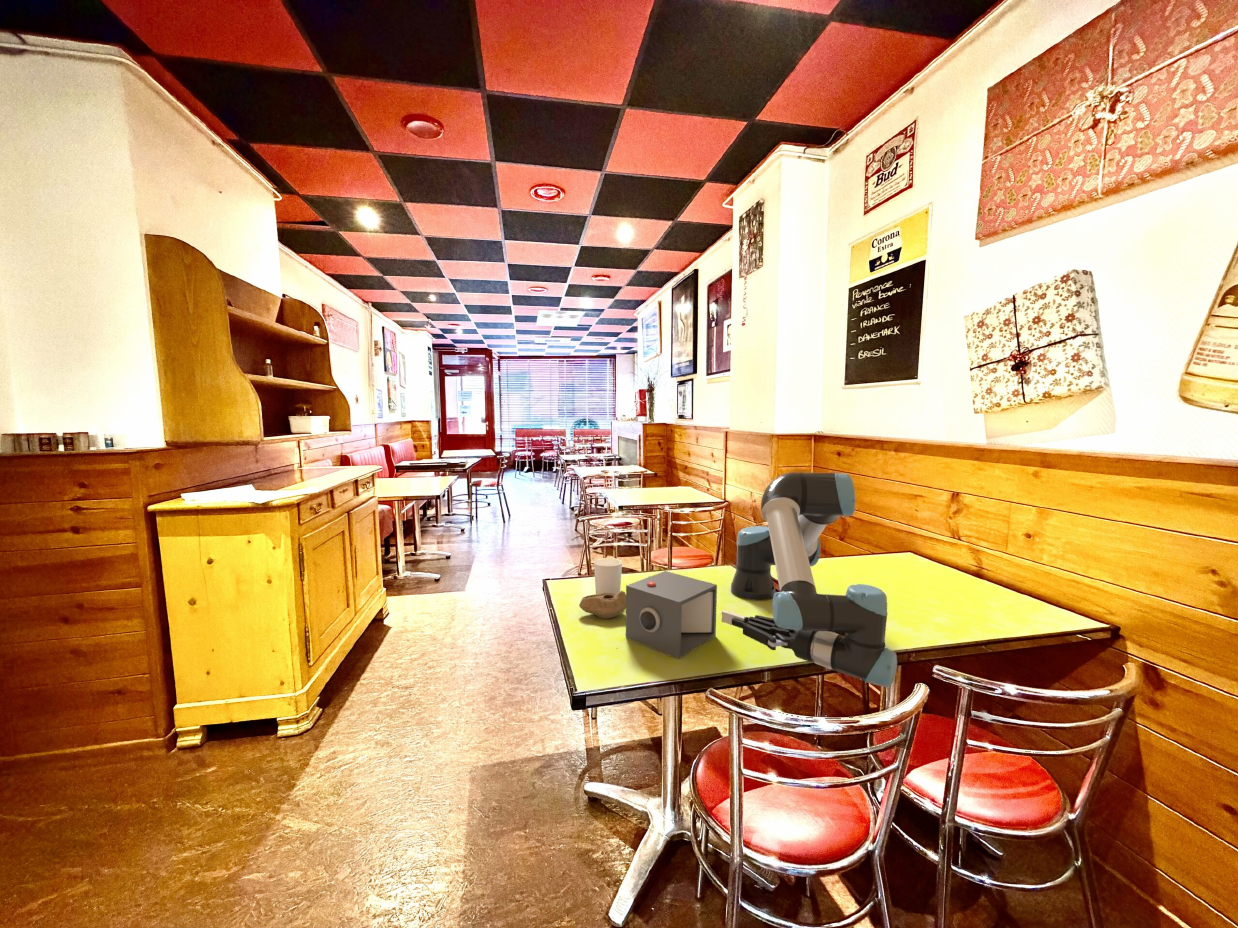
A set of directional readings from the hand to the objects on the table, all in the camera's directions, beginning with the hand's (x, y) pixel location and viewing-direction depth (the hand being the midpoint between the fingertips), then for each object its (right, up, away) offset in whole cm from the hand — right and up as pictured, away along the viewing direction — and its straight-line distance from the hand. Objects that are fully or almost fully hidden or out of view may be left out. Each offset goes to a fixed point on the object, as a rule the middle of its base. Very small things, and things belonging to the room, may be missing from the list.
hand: (723, 615), depth 123 cm
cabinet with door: (-12, -10, +12) cm, 20 cm away
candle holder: (-31, -7, +44) cm, 54 cm away
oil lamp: (-31, -9, +27) cm, 42 cm away
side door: (-8, -8, +11) cm, 16 cm away
